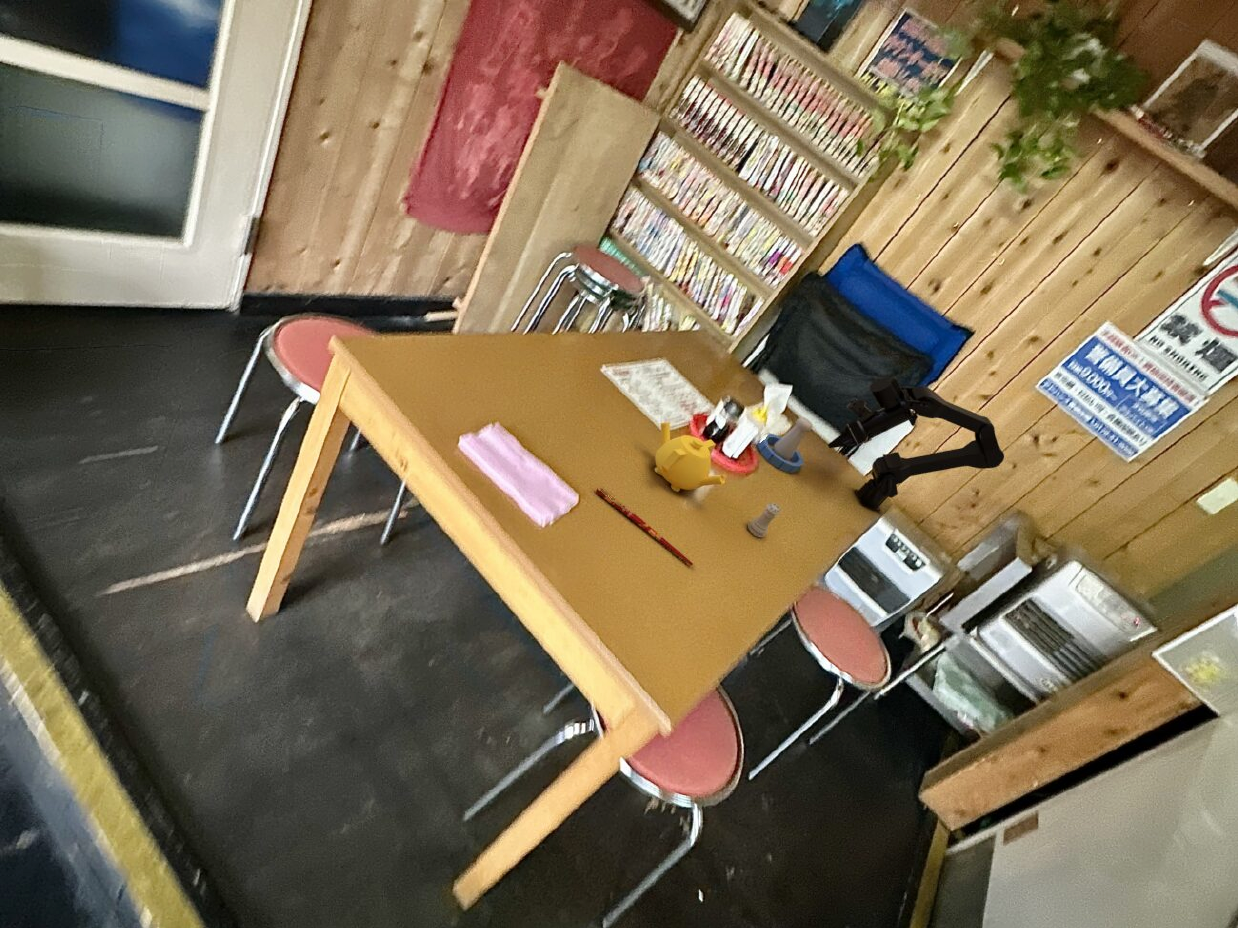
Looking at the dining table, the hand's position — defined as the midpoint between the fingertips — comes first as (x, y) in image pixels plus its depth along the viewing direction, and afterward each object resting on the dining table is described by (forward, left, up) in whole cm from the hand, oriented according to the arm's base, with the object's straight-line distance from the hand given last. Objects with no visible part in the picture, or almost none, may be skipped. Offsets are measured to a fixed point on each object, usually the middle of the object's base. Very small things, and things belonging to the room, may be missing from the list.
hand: (830, 446), depth 199 cm
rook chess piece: (+27, +35, -10) cm, 45 cm away
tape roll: (+10, -2, -10) cm, 14 cm away
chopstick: (+57, +47, -10) cm, 74 cm away
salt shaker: (+10, -2, -10) cm, 14 cm away
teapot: (+47, +26, -10) cm, 55 cm away
